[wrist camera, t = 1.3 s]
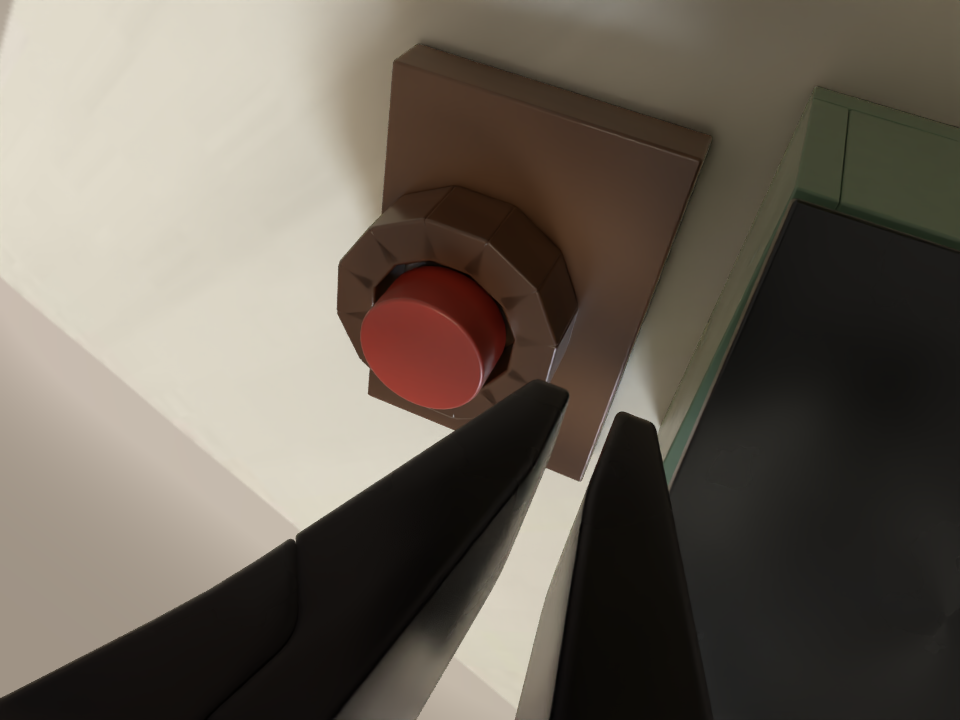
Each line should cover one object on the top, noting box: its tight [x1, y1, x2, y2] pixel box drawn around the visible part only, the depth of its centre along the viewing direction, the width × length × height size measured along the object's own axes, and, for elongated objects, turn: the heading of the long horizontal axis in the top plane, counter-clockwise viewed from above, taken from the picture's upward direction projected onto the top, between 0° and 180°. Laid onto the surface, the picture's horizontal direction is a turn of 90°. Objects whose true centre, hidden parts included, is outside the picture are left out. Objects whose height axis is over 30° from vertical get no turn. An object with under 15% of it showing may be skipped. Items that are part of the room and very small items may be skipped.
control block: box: [337, 44, 712, 481], centre depth 23 cm, size 12×8×4 cm
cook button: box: [360, 266, 506, 409], centre depth 21 cm, size 4×4×2 cm
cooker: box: [658, 87, 960, 485], centre depth 19 cm, size 12×11×5 cm
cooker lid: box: [668, 198, 960, 720], centre depth 14 cm, size 12×11×1 cm
